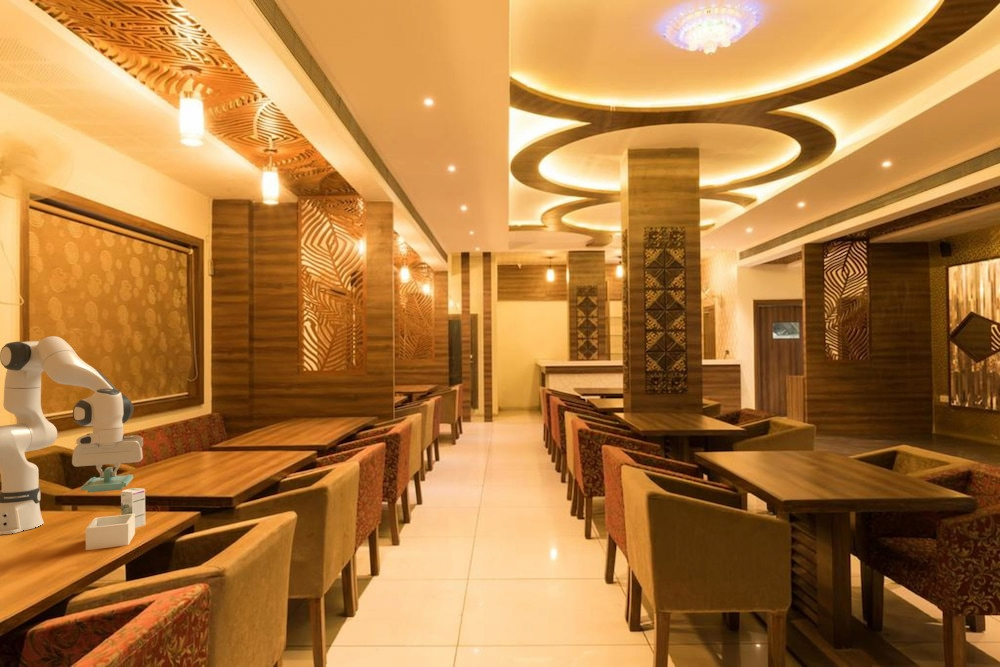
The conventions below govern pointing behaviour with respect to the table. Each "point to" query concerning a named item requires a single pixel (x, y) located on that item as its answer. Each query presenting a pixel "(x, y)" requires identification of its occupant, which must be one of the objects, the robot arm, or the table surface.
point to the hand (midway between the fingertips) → (108, 477)
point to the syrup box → (134, 504)
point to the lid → (107, 482)
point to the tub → (110, 531)
